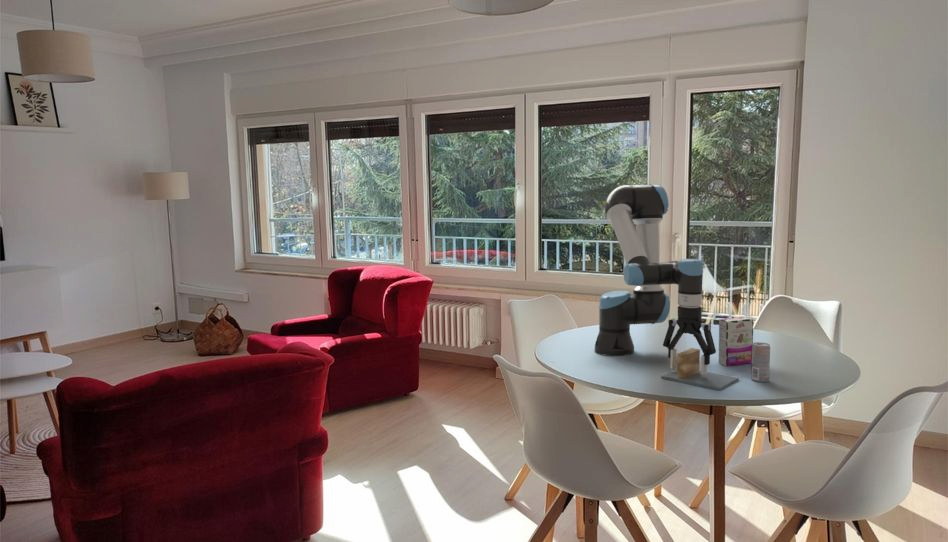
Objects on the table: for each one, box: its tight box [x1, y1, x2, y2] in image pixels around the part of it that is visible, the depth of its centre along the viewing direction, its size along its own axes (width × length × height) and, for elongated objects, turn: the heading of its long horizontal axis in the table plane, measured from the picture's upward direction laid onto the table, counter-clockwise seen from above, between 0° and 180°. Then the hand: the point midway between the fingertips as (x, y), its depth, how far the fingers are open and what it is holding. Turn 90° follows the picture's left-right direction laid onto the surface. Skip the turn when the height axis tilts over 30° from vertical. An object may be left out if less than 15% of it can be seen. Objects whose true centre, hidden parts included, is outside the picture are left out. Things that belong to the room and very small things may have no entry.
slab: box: [676, 347, 701, 379], centre depth 209 cm, size 3×10×8 cm, turn 135°
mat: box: [661, 368, 740, 391], centre depth 207 cm, size 20×14×1 cm
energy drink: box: [750, 342, 771, 383], centre depth 204 cm, size 5×5×12 cm
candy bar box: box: [718, 316, 754, 367], centre depth 224 cm, size 11×5×16 cm, turn 105°
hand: (688, 370), depth 210 cm, fingers open, 10 cm apart
